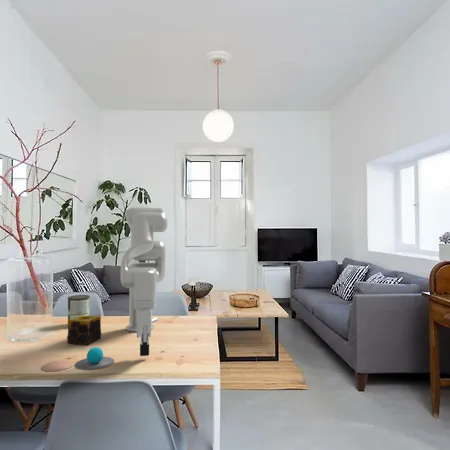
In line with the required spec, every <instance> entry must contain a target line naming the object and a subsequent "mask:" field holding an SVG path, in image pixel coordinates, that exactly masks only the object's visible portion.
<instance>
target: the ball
mask: <svg viewBox="0 0 450 450" xmlns="http://www.w3.org/2000/svg"><path fill="white" fill-rule="evenodd" d="M103 357H104V351H103V350H102V348H101V347H99V346H98V347H97V346H93V347H92V348H90V349H89V350H88V351H87V352H86V358H87V360H88V361H89V362H90V363H92V364H96V363H99V362H100V361H101V360H102V358H103Z"/></svg>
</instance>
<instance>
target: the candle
mask: <svg viewBox="0 0 450 450" xmlns="http://www.w3.org/2000/svg"><path fill="white" fill-rule="evenodd" d="M101 320H102V317H101V315H89V316H85V315H81V316H78V317H75V318H73V319H70V320H68V319H67V335H66V336H67V337H66V338H67V339H66V340H67V342H66V343H67V345H77V346H78V345H79V346H80V345H81V346H82V345H83V346H90V345H92V344H93V343H96V342H98V341H99V340H101V339H102V338H101V337H102V326H101V325H102V324H101V322H102V321H101Z"/></svg>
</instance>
